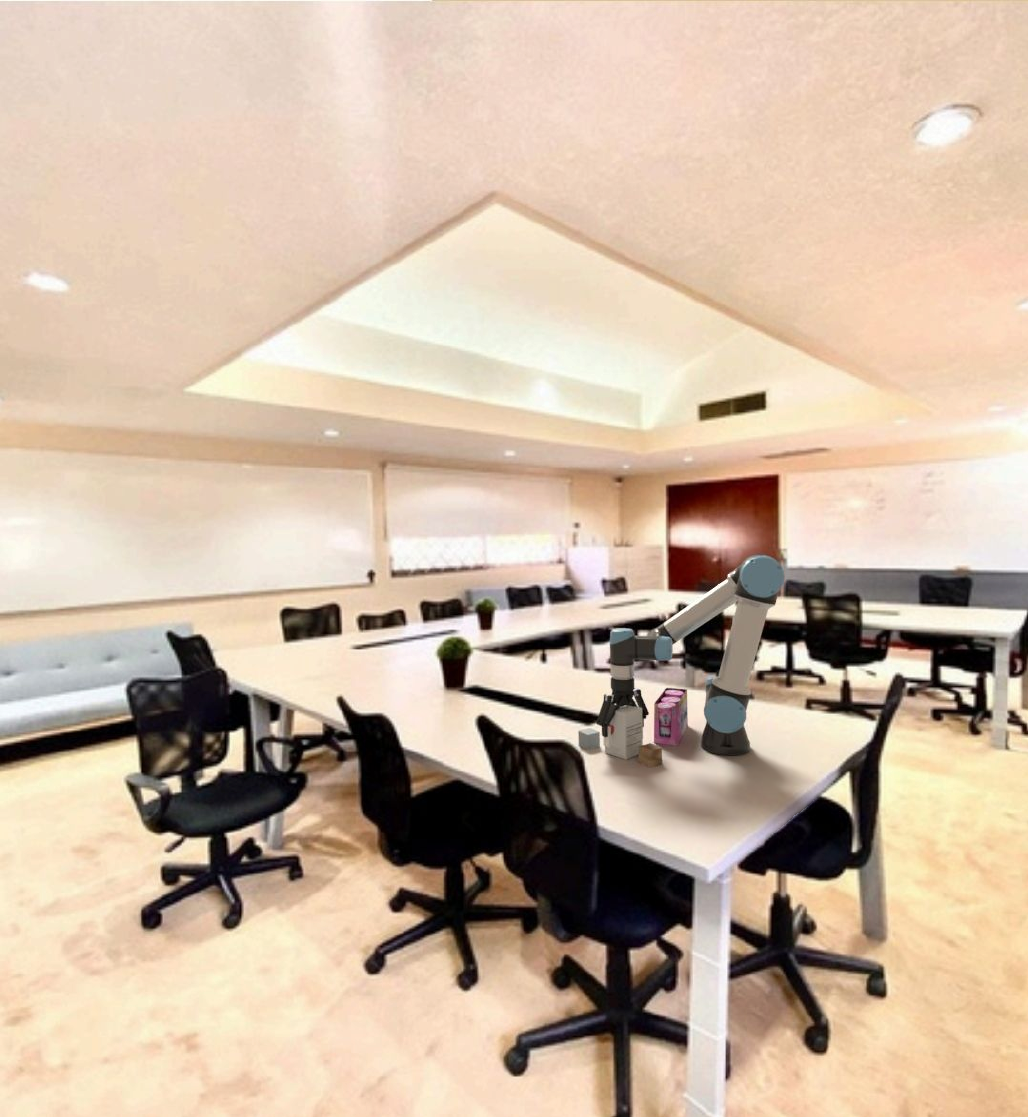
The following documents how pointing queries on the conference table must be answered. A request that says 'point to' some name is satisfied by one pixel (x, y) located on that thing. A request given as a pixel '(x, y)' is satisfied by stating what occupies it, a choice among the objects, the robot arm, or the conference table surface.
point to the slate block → (589, 738)
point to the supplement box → (626, 732)
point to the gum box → (670, 716)
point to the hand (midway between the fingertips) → (623, 742)
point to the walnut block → (650, 755)
